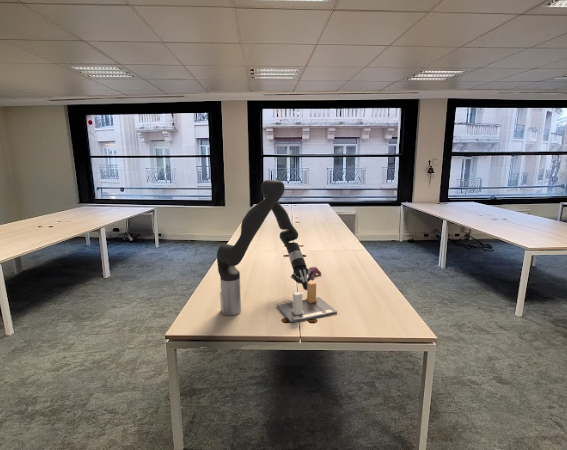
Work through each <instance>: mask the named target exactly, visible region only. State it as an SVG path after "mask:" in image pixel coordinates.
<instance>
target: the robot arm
mask: <svg viewBox="0 0 567 450" xmlns="http://www.w3.org/2000/svg"><path fill="white" fill-rule="evenodd" d="M260 190H261V191H260V192H261V194H262V196H263V197H264V199H262V200H261V201H259V203H257V204H256V205H253V206H252V207H251V208H250V209H249V210H248V212H247V213H246V214H245V215H244V217H243V219H242V220H241V226H240V235H239V238H238V239H237V241H236V242H235V244H234V245H231V244H229V243H228V244H227V243H223V244H222V245H220V246H219V247H218V250H217V251H216V260H217V261H216V262H217V271H218V274H219V278H220V279H219V281H220V292H219V297H220V311H221V313H222V316H236V315H238V314H240V313H241V312H242V301H241V300H242V299H241V297H242V296H241V275H240V271H239V270H238V269H237V268H236V266H238V265H239V264H240V263H241V262H242V261H243V258H244V256H246V252H247V251H248V249H249V246H250V244H251V243H252V241H253V239H254V237H255V236H256V235H257V233H258V231H259V230H260V228H261V227H262V225H263V223H264V222H265V220H266V219H267V217H268V215H269V214H270V213H271V211H272V213H273V215H274V217H275V220H276V223H277V225H278V227H279V229H280V230H281V232H280V233H279V239H280V241H281V242H282V243H283V245H284V246H285V249H286V252H287V254H288V257H289V262H290V264H291V267H292V271H293V273H292V274H291V275H290V278H291V279H293V280H294V281H295V282H296V283H297V284H301V286H302V288H303V290H304V291H307V282H311V276H312V274H313V271H309V270H308V269H309V268H308V266H307V263H306V261H305V258H304V256H303V253H302V250H301V248H300V245H299V243H298V242H296V240H297V239H298V238H299V233H298V231H297V229H296V228H295V227H294V225H293V224H292V222H291V219H290V216H289V213H288V212H287V211H286V209H285V208H284V206H282V204H281V203H280V202H279V201H280V199H281V198H282V197H283V194H284V193H285V184H284V182H282V181H281V180H274V179H266V180H264V181H262V183H261V187H260ZM292 241H294V242H292ZM307 273H308V275H307Z"/></svg>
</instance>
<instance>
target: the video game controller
mask: <svg viewBox="0 0 567 450" xmlns="http://www.w3.org/2000/svg"><path fill="white" fill-rule="evenodd" d="M307 269H308V270H309V271H313V274H312V276H311V279H312V280H314V279H315V276H317V275H318V276H321V275H322V272H321V271H320V270H319V268H318V267H317V266H311V267H309V268H307ZM307 276H309V275H308V273H307ZM311 279H310V280H311Z"/></svg>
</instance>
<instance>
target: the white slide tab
mask: <svg viewBox="0 0 567 450" xmlns="http://www.w3.org/2000/svg"><path fill="white" fill-rule="evenodd" d="M302 300H303V293H302V292H301V291H295V292H292V302H293V309H292V312H293V313H294V314H295V315H300V314H303V311H302Z"/></svg>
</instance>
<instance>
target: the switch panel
mask: <svg viewBox="0 0 567 450" xmlns="http://www.w3.org/2000/svg"><path fill="white" fill-rule="evenodd" d="M316 300H317V302H313V303H309V302H308V301H307V300H306V299H302V311H303V314H300V315H295V314H294V313H293V312H292V309H293V301H292V302H286V303H280V304H276V308H277V309H278V310H279V311H280V313H281V314H282V315H283V317H284V318H286V319H287V321H288V322H289V323H290V324H294V323H298V322H304V321H308V320H313V319H317V318H322V317H327V316H332V315H337V314H338V311H337V310H336V309H335V308H333V307H332V306H331V305H330V304H328V303H327V302H326V301H325V300H323V298H321V297H319V296H318V297H317V296H316Z"/></svg>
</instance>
